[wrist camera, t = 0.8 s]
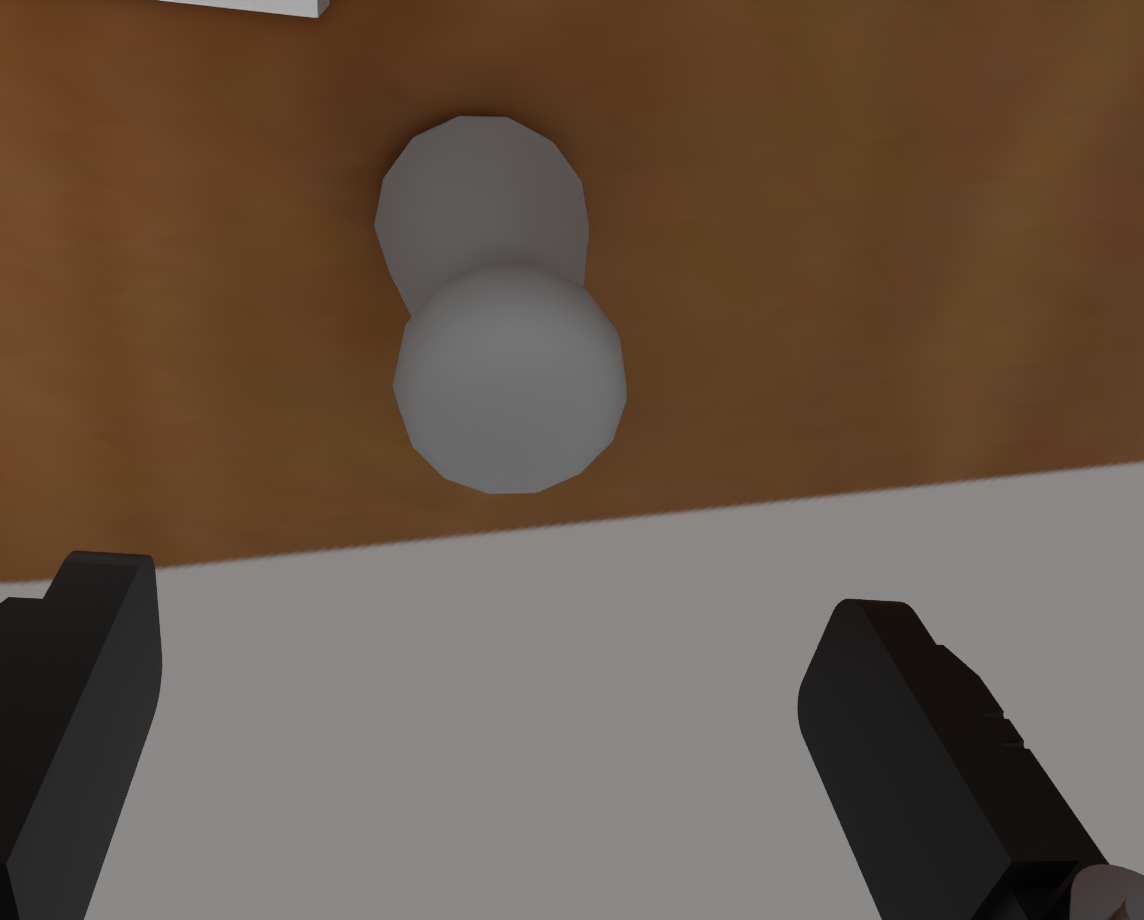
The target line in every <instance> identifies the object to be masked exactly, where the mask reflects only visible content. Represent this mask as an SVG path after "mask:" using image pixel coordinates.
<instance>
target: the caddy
mask: <svg viewBox="0 0 1144 920" xmlns="http://www.w3.org/2000/svg"><path fill="white" fill-rule="evenodd" d="M161 1H170V2H179V3H188V4H196V5H205V6H214V7H223V8H232V9H241V10H250V11H259V12H268V13H276V14H285V15H294V16H303V17H312V18H318V17H319V16H320V15H321V14H322V13H323V12H324V10H325V9H326V8H327V7H328V6H329V5H330V0H161Z"/></svg>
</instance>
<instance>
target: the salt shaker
mask: <svg viewBox="0 0 1144 920" xmlns="http://www.w3.org/2000/svg"><path fill="white" fill-rule="evenodd" d="M374 228H375V231H376V234H377V237H378V240H379V243H380V246H381V249H382V252H383V255H384V258H385V261H386V264H387V267H388V270H389V273H390V275H391V277H392V279H393V281H394V283H395V285H396V287H397V289H398V291H399V293H400V295H401V297H402V299H403V301H404V303H405V305H406V307H407V309H408V311H409V313H410V315H411V318H410V320H409V321H408V322H407V323H406V325H405V329H404V334H403V338H402V343H401V348H400V352H399V357H398V362H397V366H396V371H395V376H394V381H393V385H392V387H393V390H394V394H395V397H396V400H397V403H398V406H399V409H400V412H401V415H402V418H403V421H404V424H405V427H406V430H407V433H408V436H409V439H410V442H411V445H412V447H413V448H414V449H415V450H416V451H417V452H418V453H419V454H420V455H421V456H422V457H423V458H424V459H425V460H426V461H427V462H428V463H429V464H430V465H431V466H432V467H433V468H434V469H435V470H436V471H437V472H438V473H439V474H440V475H441V476H442V477H443V478H445V479H447V480H450V481H453V482H456V483H459V484H462V485H464V486H467V487H470V488H473V489H476V490H479V491H482V492H484V493H487V494H511V493H537V492H540V491H542V490H544V489H547V488H549V487H551V486H553V485H556V484H558V483H560V482H563V481H565V480H567V479H569V478H572V477H574V476H576V475H579V474H580V473H581V472H582V471H583V470H584V469H585V468H586V467H587V466H588V465H589V464H590V463H591V462H592V461H593V460H594V459H595V458H596V457H597V456H598V455H599V454H600V453H601V452H602V451H603V450H604V449H605V448H606V447H608V446H609V445H610V444H611V443H612V442H613V439H614V436H615V433H616V430H617V427H618V424H619V421H620V418H621V415H622V412H623V409H624V406H625V403H626V400H627V392H626V378H625V371H624V364H623V357H622V350H621V343H620V337H619V335H618V333H617V331H616V329H615V328H614V326H613V324H612V322H611V321H610V320H609V319H608V317H607V316H606V315H605V314H604V312H603V311H602V310H601V308H600V307H599V306H598V305H597V303H596V302H595V301H594V300H593V298H592V297H591V296H590V295H589V293H588V292H587V291H586V289H585V288H584V277H585V267H586V257H587V246H588V236H589V224H588V217H587V211H586V205H585V199H584V193H583V186H582V181H581V180H580V179H579V177H578V176H577V174H576V173H575V172H574V170H573V169H572V167H571V166H570V165H569V163H568V162H567V161H566V159H565V158H564V156H563V155H562V154H561V152H560V151H559V149H558V148H557V147H556V145H555V144H554V142H552V141H551V140H549V139H547V138H545V137H544V136H542V135H540V134H538V133H536V132H534V131H532V130H531V129H529V128H527V127H525V126H523V125H521V124H520V123H518V122H516V121H514V120H512V119H510V118H508V117H495V116H458V117H455V118H453V119H451V120H449V121H447V122H445V123H442V124H440V125H438V126H436V127H434V128H432V129H429V130H427V131H425V132H423V133H421V134H419V135H417V136H415V137H413V138H412V139H411V141H410V142H409V144H408V145H407V146H406V148H405V149H404V150H403V152H402V153H401V155H400V156H399V157H398V159H397V160H396V162H395V163H394V164H393V166H392V167H391V168H390V170H389V171H388V173H387V174H386V175H385V177H384V178H383V182H382V188H381V193H380V198H379V203H378V208H377V214H376V219H375V224H374Z"/></svg>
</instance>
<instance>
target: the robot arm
mask: <svg viewBox="0 0 1144 920" xmlns="http://www.w3.org/2000/svg"><path fill="white" fill-rule="evenodd" d="M161 676H162V650H161V637H160V624H159V612H158V600H157V587H156V573H155V566H154V562H153V559H152V557H151V556H150V555H140V554H124V553H107V552H90V551H73V552H71V553H70V554H69V555H68V556H67V557H66V559H65V560H64V562H63V564H62V565H61V567H60V569H59V571H58V573H57V574H56V576H55V578H54V580H53V581H52V583H51V585H50V587H49V589H48V590H47V592H46V594H45V596H44V598H43V599H36V598H16V597H8V598H7V599H6V600H4V601H3V602H1V603H0V920H84V917H85V915H86V911H87V909H88V906H89V903H90V900H91V897H92V894H93V891H94V888H95V886H96V882H97V880H98V877H99V874H100V871H101V868H102V865H103V862H104V859H105V857H106V854H107V851H108V848H109V845H110V842H111V839H112V836H113V833H114V830H115V828H116V825H117V822H118V819H119V816H120V813H121V810H122V807H123V804H124V802H125V799H126V796H127V793H128V790H129V787H130V784H131V781H132V778H133V776H134V773H135V770H136V767H137V764H138V761H139V758H140V755H141V752H142V749H143V746H144V743H145V741H146V738H147V735H148V732H149V729H150V726H151V723H152V720H153V717H154V714H155V711H156V707H157V702H158V698H159V692H160V685H161ZM1003 713H1004V711H1003V710H1002V709H1001V707H1000V706H999V704H998V703H997V701H996V700H995V698H994V697H993V696H992V694H991V693H990V691H989V690H988V688H987V687H986V685H985V684H984V682H983V681H982V680H981V678H980V677H979V676H978V675H977V674H976V673H975V672H974V671H973V670H971V669H970V668H969V667H968V666H967V665H966V664H965V663H963V662H962V661H961V660H960V659H959V658H958V657H956V656H955V655H954V654H953V653H952V652H951V651H950V650H948V649H947V648H946V647H945V646H944V645H936V643H935V642H934V640H933V639H932V637H931V636H930V634H929V633H928V631H927V629H926V628H925V627H924V625H923V623H922V622H921V620H920V619H919V617H918V616H917V614H916V613H915V612H914V610H913V609H912V608H911V607H910V606H909V605H907V604H905V603H903V602H895V601H879V600H878V601H877V600H862V599H845V600H843V601H841V602H840V603H839V604H838V605H837V606H836V607H835V609H834V611H833V613H832V615H831V617H830V620H829V622H828V624H827V626H826V629H825V631H824V633H823V635H822V638H821V640H820V642H819V644H818V647H817V649H816V651H815V654H814V656H813V658H812V660H811V663H810V665H809V667H808V669H807V672H806V674H805V677H804V679H803V681H802V683H801V686H800V690H799V696H798V719H799V725H800V729H801V733H802V735H803V738H804V740H805V743H806V745H807V747H808V749H809V752H810V754H811V756H812V759H813V761H814V764H815V766H816V768H817V771H818V773H819V775H820V777H821V780H822V782H823V784H824V787H825V789H826V791H827V794H828V796H829V798H830V801H831V803H832V805H833V808H834V810H835V812H836V814H837V817H838V819H839V821H840V824H841V826H842V828H843V830H844V833H845V835H846V838H847V840H848V842H849V845H850V847H851V849H852V851H853V854H854V856H855V858H856V861H857V863H858V865H859V868H860V870H861V872H862V875H863V877H864V879H865V882H866V884H867V886H868V888H869V891H870V893H871V895H872V898H873V900H874V902H875V905H876V907H877V909H878V912H879V914H880V916H881V918H882V920H1144V875H1142V874H1139V873H1137V872H1135V871H1132V870H1129V869H1126V868H1123V867H1119V866H1114V865H1110V864H1109V863H1108V862H1107V860H1106V859H1105V858H1104V856H1103V855H1102V853H1101V852H1100V850H1099V849H1098V847H1097V846H1096V845H1095V843H1094V842H1093V840H1092V839H1091V837H1090V836H1089V835H1088V833H1087V831H1086V830H1085V829H1084V827H1083V826H1082V824H1081V823H1080V821H1079V820H1078V819H1077V817H1076V816H1075V814H1074V813H1073V811H1072V810H1071V808H1070V807H1069V805H1068V804H1067V803H1066V801H1065V800H1064V798H1063V797H1062V795H1061V794H1060V792H1059V791H1058V790H1057V788H1056V787H1055V785H1054V784H1053V782H1052V781H1051V779H1050V778H1049V777H1048V775H1047V774H1046V772H1045V771H1044V770H1043V768H1042V767H1041V765H1040V764H1039V762H1038V761H1037V759H1036V758H1035V757H1034V755H1033V753H1032V752H1031V751H1030V749H1025V748H1024V740H1023V739H1022V737H1021V736H1020V735H1019V733H1018V732H1017V730H1016V729H1015V727H1014V726H1013V724H1012V723H1011V721H1010V720H1009V719H1004V717H1003Z"/></svg>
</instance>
